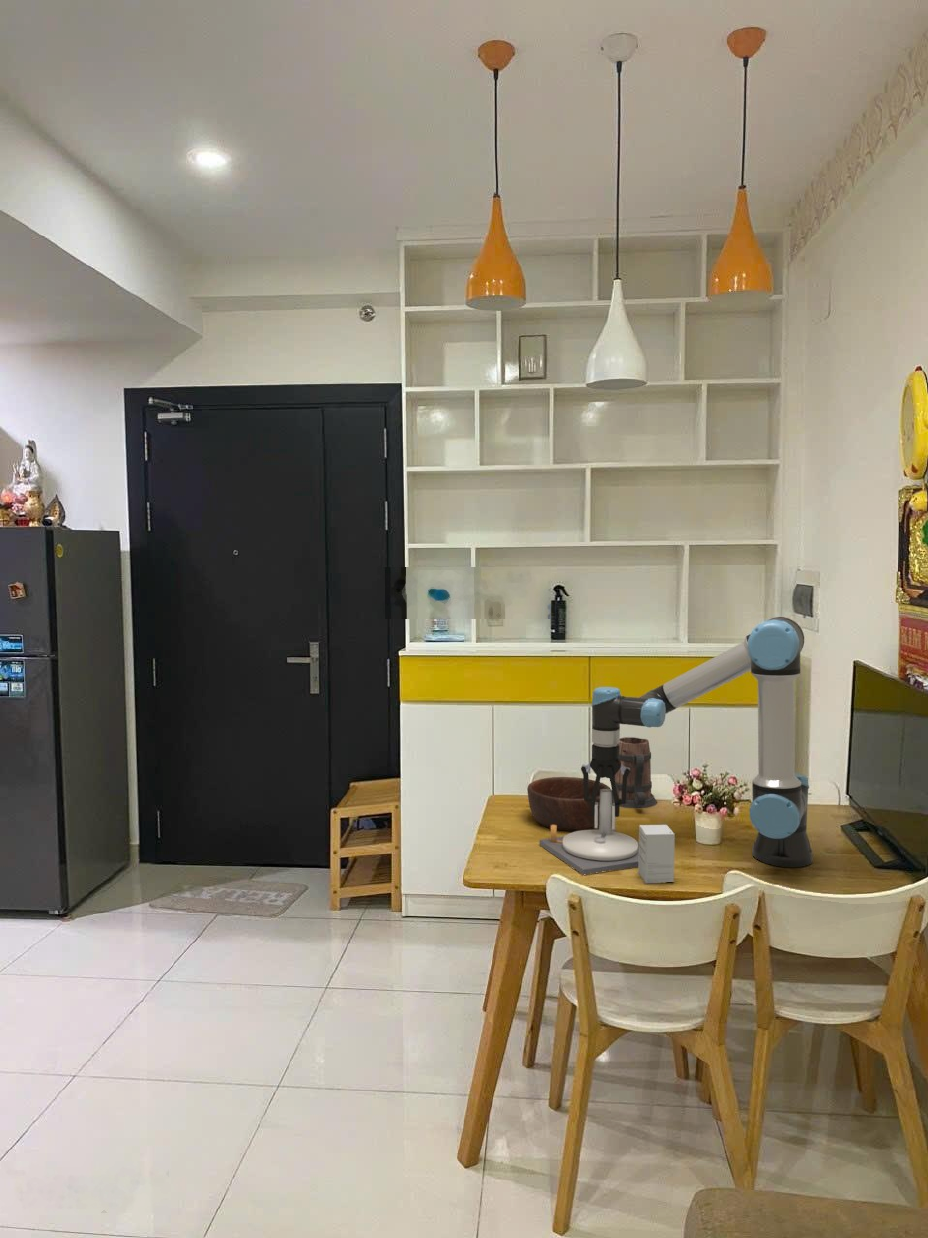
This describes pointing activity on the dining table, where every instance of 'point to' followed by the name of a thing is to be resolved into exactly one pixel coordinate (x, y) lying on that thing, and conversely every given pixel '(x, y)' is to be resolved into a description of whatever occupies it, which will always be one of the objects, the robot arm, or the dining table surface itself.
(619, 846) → the grey round-based post piece
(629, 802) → the tankard
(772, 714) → the robot arm
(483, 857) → the dining table surface
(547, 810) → the wooden bowl
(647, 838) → the supplement box
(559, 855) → the dial plate
